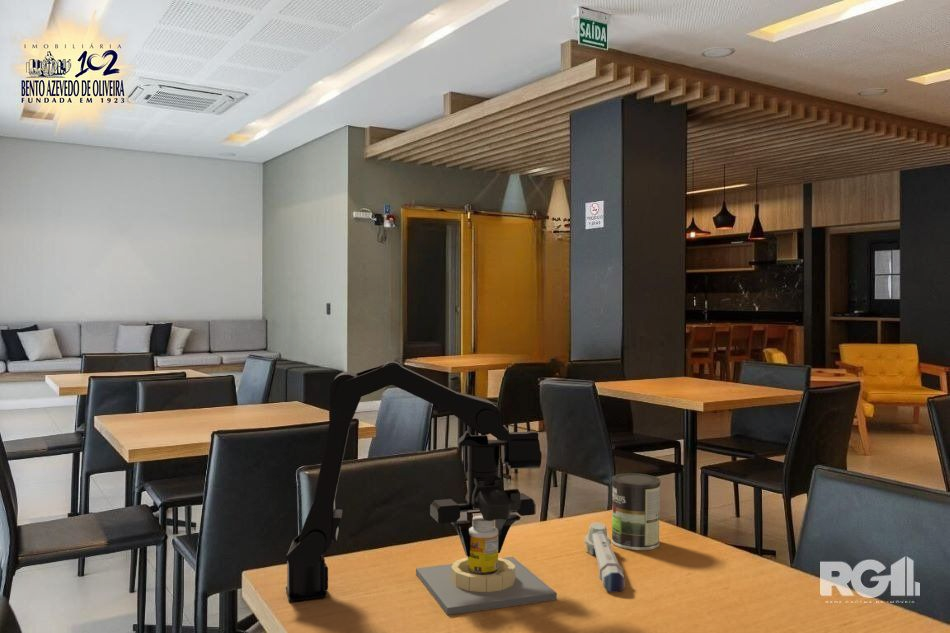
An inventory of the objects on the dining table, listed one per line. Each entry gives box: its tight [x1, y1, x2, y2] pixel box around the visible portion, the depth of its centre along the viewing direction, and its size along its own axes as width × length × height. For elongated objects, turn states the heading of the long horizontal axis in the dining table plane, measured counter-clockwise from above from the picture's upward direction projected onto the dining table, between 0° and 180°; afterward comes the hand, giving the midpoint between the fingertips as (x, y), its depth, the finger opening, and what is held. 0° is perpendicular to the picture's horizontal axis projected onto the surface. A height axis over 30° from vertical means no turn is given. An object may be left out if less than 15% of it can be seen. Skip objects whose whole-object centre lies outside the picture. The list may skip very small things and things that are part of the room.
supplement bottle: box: [468, 514, 499, 576], centre depth 137 cm, size 6×6×10 cm
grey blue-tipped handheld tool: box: [584, 521, 626, 593], centre depth 148 cm, size 5×7×25 cm
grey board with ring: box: [415, 556, 558, 616], centre depth 138 cm, size 20×20×4 cm
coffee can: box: [611, 472, 661, 552], centre depth 163 cm, size 10×10×14 cm
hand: (482, 554), depth 137 cm, fingers closed on supplement bottle, 5 cm apart
